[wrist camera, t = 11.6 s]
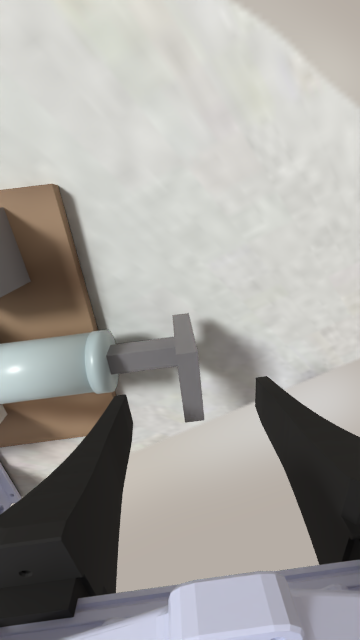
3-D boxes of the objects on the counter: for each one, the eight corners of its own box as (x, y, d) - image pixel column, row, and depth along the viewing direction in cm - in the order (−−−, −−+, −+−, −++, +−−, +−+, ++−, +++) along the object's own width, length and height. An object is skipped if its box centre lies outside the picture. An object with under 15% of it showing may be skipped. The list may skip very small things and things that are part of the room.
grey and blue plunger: (192, 360, 21) (204, 419, 15) (0, 385, 21) (-65, 455, 15) (187, 307, 19) (197, 351, 13) (-26, 334, 19) (-114, 391, 13)
